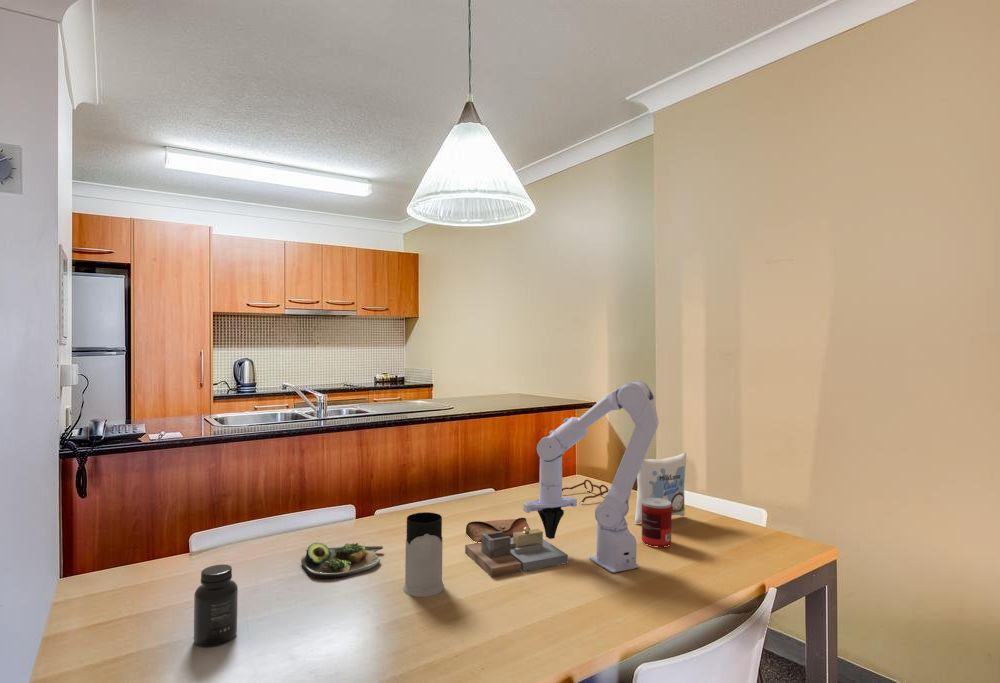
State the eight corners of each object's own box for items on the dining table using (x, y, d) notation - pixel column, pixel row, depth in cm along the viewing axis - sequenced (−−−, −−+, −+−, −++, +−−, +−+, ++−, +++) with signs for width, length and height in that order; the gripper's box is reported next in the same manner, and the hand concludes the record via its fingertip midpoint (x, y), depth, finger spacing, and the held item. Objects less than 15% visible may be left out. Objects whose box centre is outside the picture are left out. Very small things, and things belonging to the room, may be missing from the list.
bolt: (542, 546, 137) (542, 527, 137) (517, 550, 134) (517, 530, 134) (537, 543, 140) (538, 524, 140) (513, 547, 137) (513, 527, 137)
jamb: (521, 571, 127) (521, 544, 127) (491, 577, 124) (492, 549, 124) (492, 548, 142) (492, 524, 142) (465, 552, 138) (465, 528, 138)
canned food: (668, 538, 150) (668, 497, 150) (674, 549, 142) (674, 506, 142) (639, 537, 151) (639, 496, 151) (644, 547, 143) (644, 505, 143)
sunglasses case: (473, 544, 144) (470, 518, 148) (467, 549, 150) (464, 524, 153) (537, 537, 150) (533, 512, 153) (529, 543, 156) (525, 519, 159)
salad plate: (371, 544, 145) (371, 526, 145) (398, 567, 130) (398, 547, 130) (294, 559, 134) (294, 540, 134) (314, 586, 119) (314, 565, 119)
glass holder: (405, 599, 113) (405, 525, 113) (398, 571, 127) (399, 505, 127) (447, 594, 115) (448, 522, 115) (436, 567, 129) (437, 503, 129)
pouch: (626, 520, 166) (626, 453, 166) (677, 513, 173) (678, 449, 173) (642, 528, 158) (642, 458, 158) (695, 521, 165) (696, 454, 165)
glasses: (610, 500, 188) (610, 486, 188) (580, 506, 181) (580, 490, 181) (585, 491, 199) (585, 477, 199) (556, 496, 193) (556, 482, 193)
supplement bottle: (243, 627, 101) (244, 561, 101) (226, 648, 94) (227, 577, 94) (205, 627, 101) (206, 561, 101) (185, 648, 94) (186, 577, 94)
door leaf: (567, 563, 132) (567, 550, 133) (523, 571, 127) (523, 558, 127) (535, 541, 147) (535, 530, 147) (494, 548, 142) (494, 536, 142)
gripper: (566, 477, 147) (566, 528, 146) (518, 482, 140) (517, 536, 140) (581, 483, 140) (581, 537, 140) (531, 489, 134) (530, 545, 134)
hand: (550, 537), depth 140 cm, fingers closed
